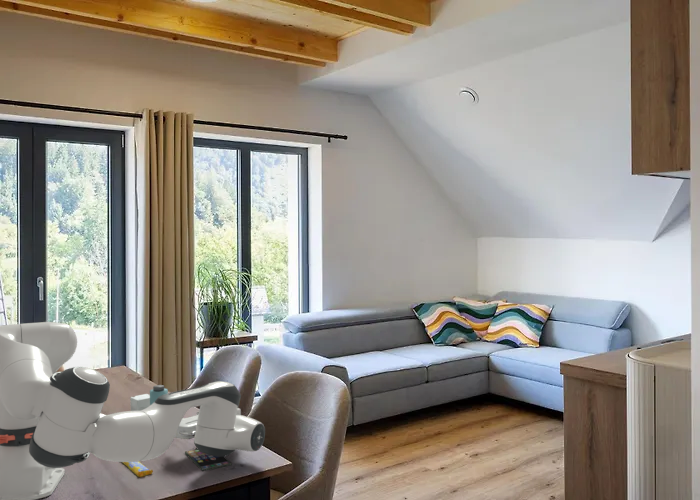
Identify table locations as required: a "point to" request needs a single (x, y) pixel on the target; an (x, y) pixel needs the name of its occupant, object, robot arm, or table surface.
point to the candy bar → (138, 468)
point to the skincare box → (140, 402)
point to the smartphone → (206, 460)
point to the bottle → (157, 392)
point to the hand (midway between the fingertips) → (185, 417)
